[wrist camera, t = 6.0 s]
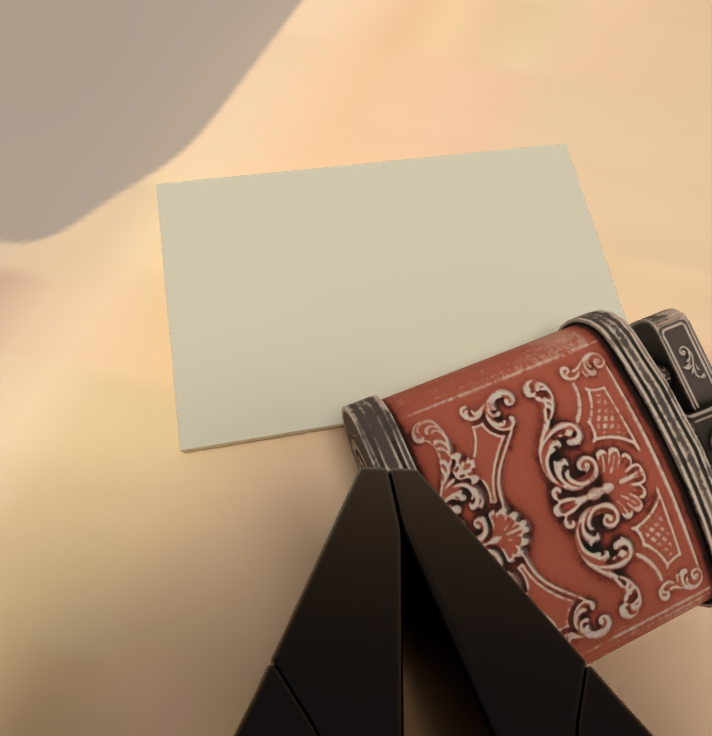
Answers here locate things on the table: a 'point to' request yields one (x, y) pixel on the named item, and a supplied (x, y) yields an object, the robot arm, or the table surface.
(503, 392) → the lighter
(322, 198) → the mat
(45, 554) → the table surface
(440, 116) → the table surface
